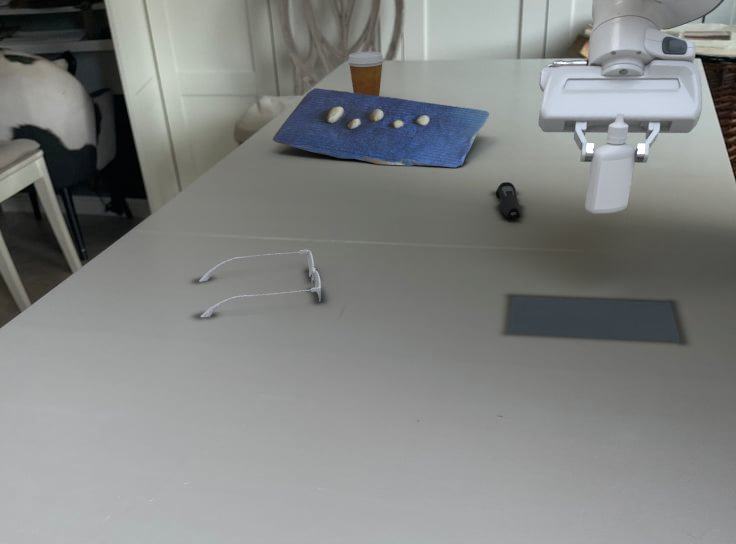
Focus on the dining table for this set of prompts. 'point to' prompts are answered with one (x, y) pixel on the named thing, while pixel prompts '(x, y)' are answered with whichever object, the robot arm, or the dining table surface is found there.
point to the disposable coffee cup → (366, 72)
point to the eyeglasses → (311, 272)
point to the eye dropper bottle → (611, 172)
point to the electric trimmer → (508, 200)
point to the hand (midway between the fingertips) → (614, 160)
